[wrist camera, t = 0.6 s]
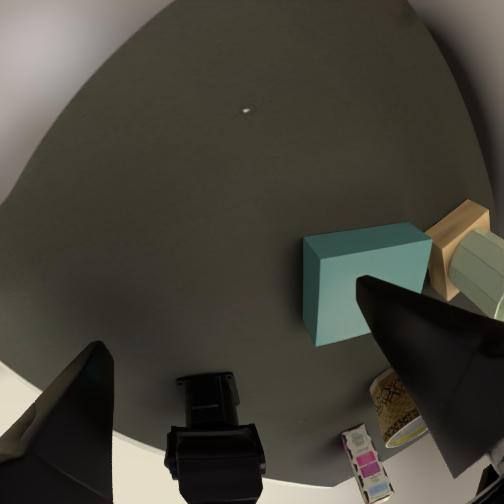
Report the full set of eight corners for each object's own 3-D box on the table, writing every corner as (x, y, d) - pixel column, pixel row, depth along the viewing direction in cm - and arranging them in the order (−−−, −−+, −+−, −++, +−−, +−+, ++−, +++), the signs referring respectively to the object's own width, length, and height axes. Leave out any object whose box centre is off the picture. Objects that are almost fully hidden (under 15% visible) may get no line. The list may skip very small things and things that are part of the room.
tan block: (472, 250, 29) (490, 263, 26) (430, 285, 30) (447, 301, 26) (467, 198, 25) (489, 209, 22) (421, 234, 26) (442, 249, 23)
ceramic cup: (351, 404, 38) (374, 455, 30) (374, 363, 34) (407, 419, 25) (412, 387, 41) (437, 428, 32) (437, 346, 36) (471, 389, 28)
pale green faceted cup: (479, 278, 26) (519, 313, 20) (441, 292, 25) (484, 335, 19) (493, 224, 23) (541, 255, 16) (456, 231, 22) (511, 269, 16)
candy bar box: (339, 432, 43) (368, 505, 29) (364, 422, 43) (396, 492, 29) (342, 449, 48) (366, 510, 34) (364, 440, 48) (390, 499, 34)
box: (394, 297, 29) (413, 318, 26) (302, 319, 28) (315, 347, 24) (407, 221, 25) (433, 238, 21) (302, 236, 24) (320, 259, 20)
